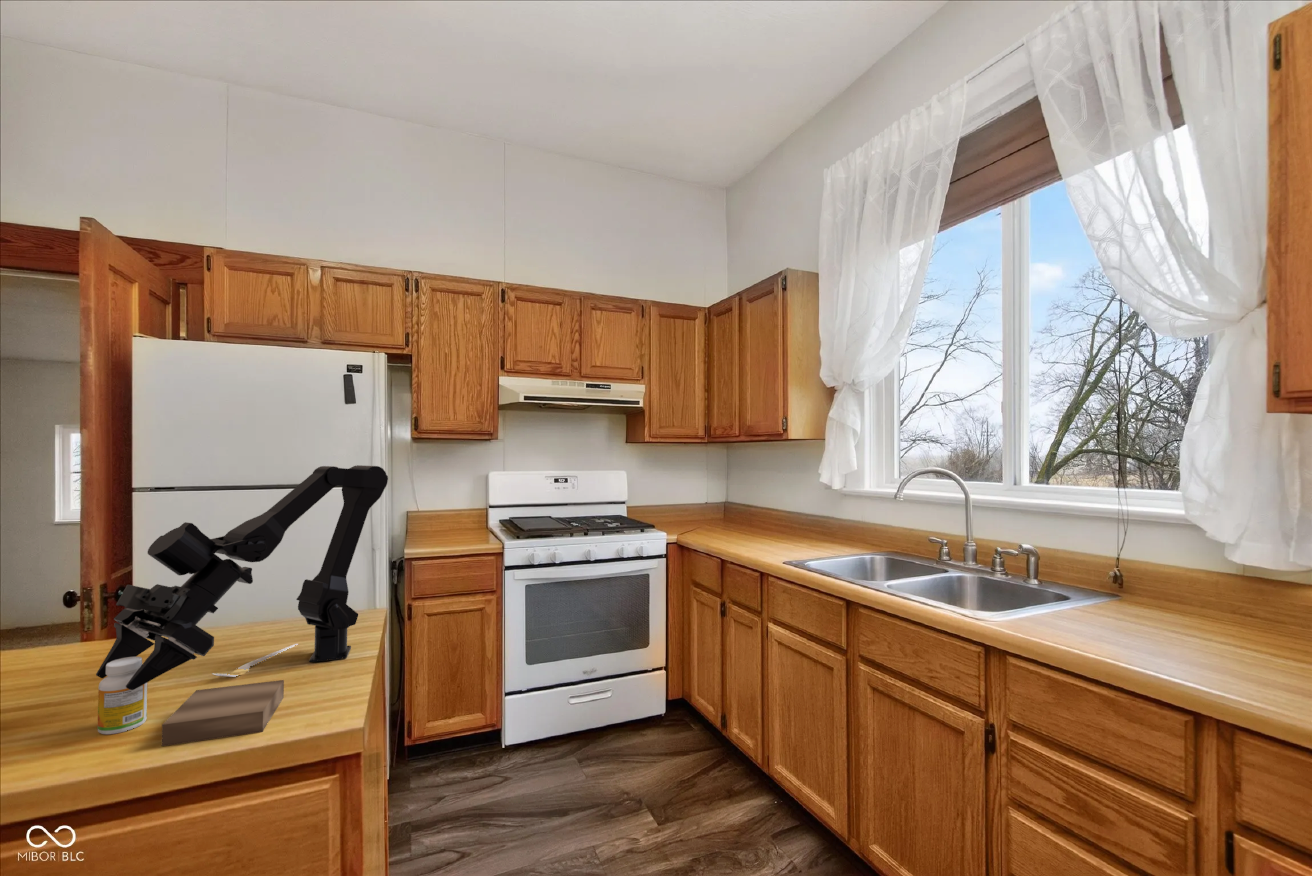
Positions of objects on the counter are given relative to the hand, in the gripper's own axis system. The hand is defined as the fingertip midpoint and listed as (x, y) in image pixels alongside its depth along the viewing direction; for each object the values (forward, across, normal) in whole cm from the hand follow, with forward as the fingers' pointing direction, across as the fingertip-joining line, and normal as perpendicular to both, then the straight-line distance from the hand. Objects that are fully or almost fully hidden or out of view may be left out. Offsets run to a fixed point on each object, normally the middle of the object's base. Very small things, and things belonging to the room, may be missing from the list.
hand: (113, 682), depth 84 cm
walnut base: (-2, +12, +12) cm, 17 cm away
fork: (-13, -9, +23) cm, 28 cm away
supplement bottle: (+4, 0, +6) cm, 7 cm away
